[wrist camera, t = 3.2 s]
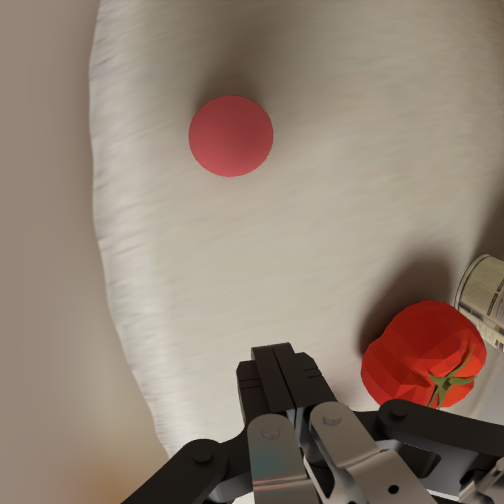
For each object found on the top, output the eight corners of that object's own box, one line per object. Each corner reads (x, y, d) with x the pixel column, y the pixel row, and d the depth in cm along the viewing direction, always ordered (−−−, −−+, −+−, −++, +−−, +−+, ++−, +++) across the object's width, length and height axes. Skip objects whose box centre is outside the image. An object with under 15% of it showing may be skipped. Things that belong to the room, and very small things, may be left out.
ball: (189, 107, 19) (184, 88, 14) (262, 104, 20) (280, 85, 15) (192, 178, 21) (188, 181, 16) (265, 173, 21) (284, 175, 16)
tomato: (451, 283, 28) (512, 320, 18) (421, 371, 32) (465, 416, 22) (361, 292, 26) (428, 350, 16) (337, 393, 30) (375, 458, 20)
